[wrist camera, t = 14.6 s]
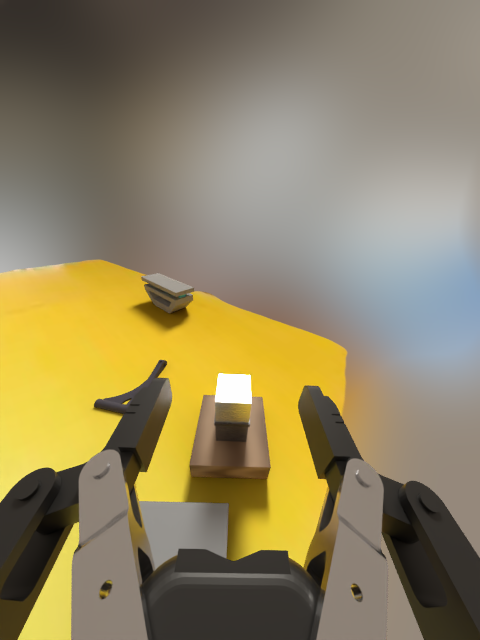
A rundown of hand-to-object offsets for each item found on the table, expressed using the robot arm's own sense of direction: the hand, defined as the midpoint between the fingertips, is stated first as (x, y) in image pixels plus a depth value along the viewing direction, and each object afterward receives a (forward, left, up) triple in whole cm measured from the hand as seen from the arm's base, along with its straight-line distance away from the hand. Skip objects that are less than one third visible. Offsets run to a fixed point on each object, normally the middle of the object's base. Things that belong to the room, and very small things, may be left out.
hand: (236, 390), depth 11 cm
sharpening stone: (-29, +64, -27) cm, 75 cm away
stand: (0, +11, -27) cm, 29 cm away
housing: (0, +11, -23) cm, 26 cm away
